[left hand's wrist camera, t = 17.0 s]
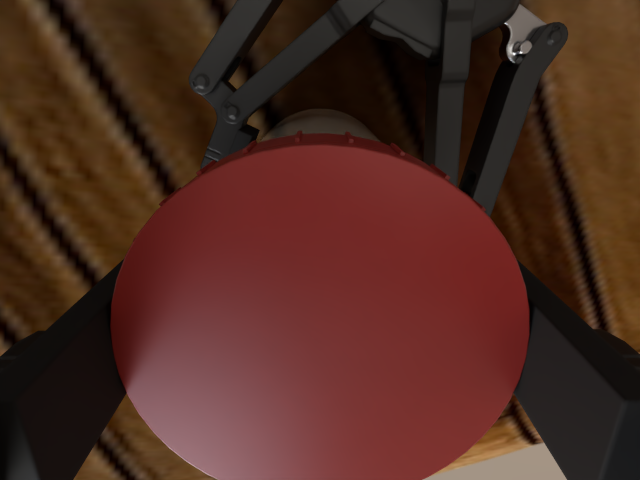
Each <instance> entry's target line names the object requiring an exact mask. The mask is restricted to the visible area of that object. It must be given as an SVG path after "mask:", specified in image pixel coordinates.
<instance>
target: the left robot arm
mask: <svg viewBox="0 0 640 480" xmlns="http://www.w3.org/2000/svg"><path fill="white" fill-rule="evenodd" d="M516 260H517V259H516ZM123 261H124V259H123V260H122V261H121V262H120V263H119V264H118V265H117V266H116V267H115V268H114V269H113V270H111V271H110V272H109V273H108V274H107V275H106V276H105V277H104V278H103V279H102V280H101V281H99V282H98V283H97V284H96V285H95V286H94V287H93V288H92V289H91V290H90V291H89V292H87V293H86V294H85V295H84V296H83V297H82V298H81V299H80V300H79V301H78V302H77V303H75V304H74V305H73V306H72V307H71V308H70V309H69V310H68V311H67V312H66V313H65V314H63V315H62V316H61V317H60V318H59V319H58V320H57V321H56V322H55V323H54V324H53V325H51V326H50V327H49V328H48V329H47V330H46V331H37V332H35V333H33V334H32V335H30V336H28V337H26V338H24V339H22V340H20V341H19V342H17V343H15V344H14V345H13V346H12V347H11V348H10V349H8V350H7V351H6V352H5V353H4V354H3V355H2V356H0V480H73V479H74V477H75V476H76V474H77V472H78V471H79V469H80V468H81V466H82V464H83V463H84V461H85V460H86V458H87V456H88V455H89V453H90V451H91V450H92V448H93V447H94V445H95V443H96V442H97V440H98V438H99V437H100V435H101V434H102V432H103V430H104V429H105V427H106V425H107V424H108V422H109V421H110V419H111V417H112V416H113V414H114V412H115V411H116V409H117V408H118V406H119V404H120V403H121V401H122V400H123V398H124V396H125V395H126V393H127V392H126V390H125V388H124V385H123V383H122V380H121V378H120V376H119V373H118V369H117V366H116V362H115V358H114V353H113V348H112V340H111V330H110V323H111V303H112V298H113V294H114V289H115V284H116V279H117V277H118V274H119V271H120V269H121V266H122V264H123ZM517 262H518V265H519V268H520V271H521V274H522V277H523V280H524V283H525V286H526V292H527V298H528V304H529V310H530V336H529V342H528V349H527V355H526V360H525V363H524V366H523V370H522V373H521V376H520V380H519V382H518V384H517V386H516V388H515V390H514V392H513V393H514V394H515V396H516V397H517V399H518V401H519V402H520V404H521V406H522V407H523V409H524V410H525V412H526V414H527V415H528V417H529V419H530V420H531V422H532V423H533V425H534V427H535V428H536V430H537V432H538V433H539V435H540V436H541V438H542V440H543V441H544V443H545V444H546V446H547V448H548V449H549V451H550V453H551V454H552V456H553V457H554V459H555V461H556V462H557V464H558V466H559V467H560V469H561V470H562V472H563V474H564V475H565V477H566V479H567V480H640V354H639V353H638V352H636V351H635V350H634V349H633V348H632V347H631V346H629V345H628V344H627V343H626V342H625V341H623V340H621V339H619V338H617V337H616V336H614V335H612V334H610V333H608V332H606V331H604V330H603V329H592V328H591V327H590V326H589V325H588V324H587V323H586V322H585V321H583V320H582V319H581V318H580V317H579V316H578V315H577V314H576V313H575V312H574V311H573V310H571V309H570V308H569V307H568V306H567V305H566V304H565V303H564V302H563V301H562V300H561V299H559V298H558V297H557V296H556V295H555V294H554V293H553V292H552V291H551V290H550V289H549V288H547V287H546V286H545V285H544V284H543V283H542V282H541V281H540V280H539V279H538V278H537V277H535V276H534V275H533V274H532V273H531V272H530V271H529V270H528V269H527V268H526V267H525V266H523V265H522V264H521V263H520V262H519V261H518V260H517Z"/></svg>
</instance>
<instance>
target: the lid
mask: <svg viewBox="0 0 640 480" xmlns="http://www.w3.org/2000/svg"><path fill="white" fill-rule="evenodd" d="M196 174H197V175H198V176H196V177H195V178H194V179H193V180H191V181H190V182H189V183H187V184H186V185H185V186H184V187H182V188H181V187H180V188H179V189H177V190H176V191H175V192H173V193H172V194H171V195H169V196H168V197H167V198H166V199H164V200H163V201H162V202H161V203H160V204H159V205H160V206H161V207H160V208H159V209H158V210H157V211H156V212H155V213H154V214H153V215H152V217H151V218H150V219H149V220H148V222H147V223H146V224H145V225H144V227H143V228H142V229H141V230H140V232H139V233H138V235H137V236H136V238H135V239H134V240H133V243H132V245H131V247H130V249H129V250H128V252H127V254H126V256H125V258H124V261H123V264H122V266H121V269H120V271H119V274H118V277H117V279H116V284H115V289H114V294H113V298H112V303H111V323H110V330H111V340H112V348H113V353H114V358H115V362H116V366H117V369H118V373H119V376H120V378H121V380H122V383H123V385H124V388H125V390H126V392H127V395H128V396H129V398H130V400H131V401H132V403H133V405H134V406H135V408H136V410H137V411H138V413H139V415H140V416H141V417H142V418H143V420H144V421H145V422H146V423H147V425H148V426H149V427H150V429H151V430H152V431H153V432H154V433H155V434H156V435H157V436H158V437H159V438H160V439H161V440H162V441H163V442H164V443H165V444H166V445H167V446H168V447H169V448H170V449H171V450H173V451H174V452H175V453H176V454H178V455H179V456H180V457H182V458H183V459H184V460H185V461H187V462H188V463H190V464H191V465H193V466H195V467H196V468H198V469H199V470H201V471H203V472H204V473H206V474H208V475H210V476H212V477H214V478H216V479H218V480H422V479H425V478H427V477H429V476H431V475H432V474H434V473H436V472H438V471H439V470H441V469H443V468H444V467H446V466H448V465H449V464H451V463H452V462H453V461H455V460H456V459H457V458H459V457H460V456H462V455H463V454H464V453H466V452H467V451H468V450H469V449H470V448H471V447H472V446H473V445H474V444H475V443H476V442H478V441H479V440H480V439H481V438H482V437H483V436H484V435H485V433H486V432H487V431H488V430H489V429H490V428H491V426H492V425H493V424H494V423H495V422H496V420H497V419H498V418H499V416H500V415H501V413H502V412H503V410H504V408H505V407H506V405H507V404H508V402H509V401H510V399H511V397H512V394H513V392H514V390H515V388H516V386H517V384H518V382H519V380H520V376H521V373H522V370H523V366H524V363H525V360H526V355H527V349H528V342H529V336H530V310H529V304H528V298H527V292H526V286H525V283H524V280H523V277H522V274H521V271H520V268H519V265H518V262H517V260H516V258H515V256H514V254H513V252H512V250H511V248H510V246H509V244H508V243H507V241H506V239H505V237H504V236H503V235H502V233H501V232H500V231H499V229H498V228H497V227H496V225H495V224H494V222H493V221H492V220H491V218H490V217H489V216H488V215H487V214H486V213H485V212H484V211H485V210H486V209H485V208H484V207H483V206H482V205H480V204H479V203H478V202H477V201H475V200H474V199H473V198H471V197H470V196H469V195H468V194H466V193H465V192H463V191H461V190H460V189H459V188H458V187H456V186H455V185H454V184H452V183H451V182H450V181H449V179H450V177H449V176H448V175H447V174H445V173H444V172H443V171H442V170H440V169H439V168H438V167H436V166H435V165H433V164H431V165H430V166H429V165H427V164H426V163H424V162H423V161H421V160H419V159H417V158H415V157H413V156H411V155H410V154H408V153H406V152H404V151H402V150H401V149H400V148H399V147H398V146H397V145H396V144H394V143H391V144H390V146H389V145H386V144H383V143H381V142H378V141H374V140H370V139H365V138H361V137H356V136H352V135H351V134H350V132H345V135H342V134H330V133H313V134H302V131H298V132H297V134H295V135H290V136H285V137H279V138H274V139H269V140H266V141H263V142H260V143H257V142H256V140H255V141H252V142H251V143H250V144H249V145H248V146H246V147H245V148H243V149H241V150H239V151H237V152H235V153H233V154H231V155H229V156H227V157H225V158H223V159H221V160H219V161H218V162H216V161H215V160H213V161H211V162H210V163H209V164H207V165H206V166H205V167H203V168H202V169H201V170H199V171H198V172H197V173H196Z"/></svg>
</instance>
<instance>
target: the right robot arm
mask: <svg viewBox="0 0 640 480" xmlns="http://www.w3.org/2000/svg"><path fill="white" fill-rule="evenodd" d="M282 1H283V0H237V2H236V3H235V5H234V6H233V8H232V9H231V11H230V12H229V14H228V16H227V17H226V19H225V20H224V22H223V23H222V25H221V26H220V28H219V30H218V31H217V33H216V34H215V36H214V37H213V39H212V41H211V42H210V44H209V45H208V47H207V48H206V50H205V51H204V53H203V55H202V56H201V58H200V59H199V61H198V62H197V64H196V65H195V67H194V69H193V70H192V72H191V74H190V76H189V84H190V86H191V88H192V89H193V90H194V92H196V93H198V94H201V95H202V96H203V97H204V98H205V99H206V100H207V101H208V102H209V103H210V104H211V105H212V106H213V107H214V109H215V111H216V114H217V123H216V126H215V128H214V131H213V134H212V137H211V139H210V142H209V145H208V148H207V150H206V153H205V156H204V158H203V161H202V164H201V169H202V168H203V167H205V166H206V165H207V164H209V163H210V162H211V161H213V160H215V161H216V162H218V161H219V160H221V159H223V158H225V157H227V156H229V155H231V154H233V153H235V152H237V151H239V150H241V149H243V148H245V147H246V146H248V145H249V144H250V143H251V142H252V141H255V140H256V138H257V136H258V133H259V131H260V130H258V129H256V128H254V127H252V126H250V125H248V124H247V121H248V118H249V117H250V116H251V115H252V114H253V113H255V112H256V111H257V110H258V109H259V108H261V107H262V106H263V105H264V104H265V103H267V102H268V101H269V100H270V99H271V98H272V97H274V96H275V95H276V94H277V93H278V92H280V91H281V90H282V89H283V88H284V87H286V86H287V85H288V84H289V83H290V82H291V81H293V80H294V79H295V78H296V77H297V76H299V75H300V74H301V73H302V72H303V71H305V70H306V69H307V68H308V67H309V66H310V65H312V64H313V63H314V62H315V61H316V60H318V59H319V58H320V57H321V56H322V55H324V54H325V53H326V52H327V51H328V50H329V49H331V48H332V47H333V46H334V45H335V44H337V43H338V42H339V41H340V40H341V39H343V38H344V37H345V36H347V35H348V34H349V33H350V32H351V31H353V30H354V29H355V28H356V27H357V26H359V25H360V24H362V25H363V27H364V28H365V29H366V32H367V33H369V34H370V35H372V36H374V37H376V38H378V39H382V40H387V41H392V42H395V43H396V44H397V45H398V46H399V47H400V48H402V49H403V50H404V51H405V52H406V53H407V54H409V55H411V56H412V57H414V58H416V59H418V60H426V64H425V80H426V83H427V93H426V116H425V139H424V163H426V164H427V165H429V166H430V165H431V164H433V165H435V166H436V167H438V168H439V169H440V170H442V171H443V172H444V173H445V174H447V175H448V176H449V177H450V179H449V181H450V182H451V183H452V184H454V185H455V186H456V187H457V180H458V166H459V153H460V139H461V125H462V111H463V98H464V86H465V82H466V80H467V78H468V74H469V64H470V50H471V42H473V41H474V40H476V39H478V38H480V37H481V36H483V35H485V34H487V33H488V32H490V31H492V30H494V29H495V28H497V27H499V28H500V29H501V31H502V34H503V39H502V43H501V45H500V48H499V56H500V58H501V59H502V60H503V61H502V63H501V65H500V66H499V68H498V70H497V72H496V75H495V77H494V80H493V83H492V86H491V89H490V92H489V95H488V98H487V101H486V104H485V107H484V110H483V113H482V117H481V120H480V123H479V126H478V129H477V132H476V135H475V138H474V141H473V145H472V148H471V151H470V154H469V157H468V160H467V163H466V166H465V169H464V172H463V176H462V179H461V182H460V185H459V189H460V190H461V191H463V192H465V193H466V194H468V195H469V196H470V197H471V198H473V199H474V200H475V201H477V202H478V203H479V204H480V205H482V206H483V207H484V208H485V209H486V210H485V211H484V212H485V213H486V214H487V215H488V216H489V217H490V215H491V213H492V210H493V207H494V204H495V201H496V199H497V196H498V193H499V190H500V188H501V185H502V182H503V179H504V176H505V174H506V171H507V168H508V165H509V162H510V160H511V157H512V154H513V151H514V148H515V146H516V143H517V140H518V137H519V134H520V132H521V129H522V126H523V123H524V120H525V118H526V115H527V112H528V109H529V106H530V104H531V101H532V98H533V95H534V92H535V90H536V87H537V84H538V81H539V78H540V77H541V75H542V74H543V73H544V71H545V70H546V69H547V67H548V66H549V65H550V63H551V62H552V61H553V59H554V58H555V56H556V55H557V54H558V52H559V51H560V50H561V48H562V47H563V46H564V44H565V42H566V40H567V37H568V31H567V28H566V26H565V25H564V24H562V23H560V22H554V23H550V24H546V23H544V22H543V21H542V20H540V19H539V18H538V17H536V16H535V15H534V14H532V13H531V12H530V11H528V10H527V9H526V8H525V7H523V6H522V5H521V4H520V0H338V1H337V2H336V3H335V4H334V5H333V6H332V7H331V8H330V9H329V10H328V11H327V12H326V13H325V14H324V15H323V16H322V17H321V18H319V19H318V20H317V21H316V22H315V23H314V24H312V25H311V26H310V27H309V28H308V29H307V30H306V31H304V32H303V33H302V34H301V35H300V36H299V37H297V38H296V39H295V40H294V41H293V42H292V43H291V44H289V45H288V46H287V47H286V48H285V49H284V50H282V51H281V52H280V53H279V54H278V55H277V56H276V57H274V58H273V59H272V60H271V61H270V62H269V63H267V64H266V65H265V66H264V67H263V68H262V69H261V70H259V71H258V72H257V73H256V74H255V75H254V76H252V77H251V78H250V79H249V80H248V81H247V82H246V83H244V84H243V85H242V86H241V87H240V88H239V89H236V88H235V87H234V86H232V85H231V84H230V83H229V82H228V81H229V80H230V78H231V77H232V75H233V74H234V72H235V71H236V69H237V68H238V66H239V65H240V63H241V62H242V60H243V59H244V57H245V56H246V54H247V53H248V51H249V50H250V48H251V47H252V45H253V44H254V42H255V41H256V40H257V38H258V37H259V35H260V34H261V32H262V31H263V29H264V28H265V26H266V25H267V23H268V22H269V20H270V19H271V17H272V16H273V14H274V13H275V11H276V10H277V8H278V7H279V5H280V4H281V2H282Z"/></svg>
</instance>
